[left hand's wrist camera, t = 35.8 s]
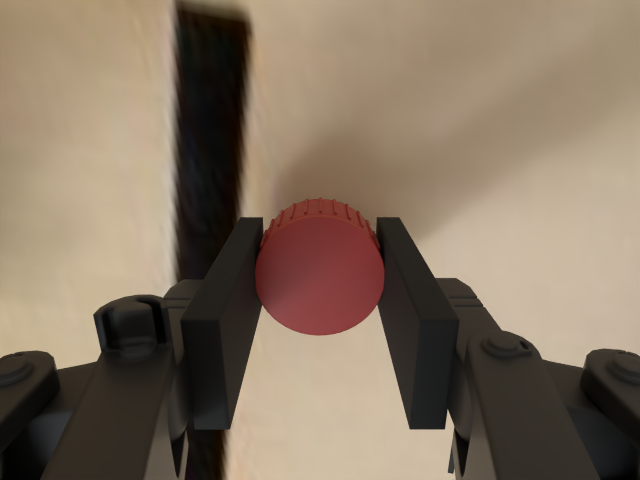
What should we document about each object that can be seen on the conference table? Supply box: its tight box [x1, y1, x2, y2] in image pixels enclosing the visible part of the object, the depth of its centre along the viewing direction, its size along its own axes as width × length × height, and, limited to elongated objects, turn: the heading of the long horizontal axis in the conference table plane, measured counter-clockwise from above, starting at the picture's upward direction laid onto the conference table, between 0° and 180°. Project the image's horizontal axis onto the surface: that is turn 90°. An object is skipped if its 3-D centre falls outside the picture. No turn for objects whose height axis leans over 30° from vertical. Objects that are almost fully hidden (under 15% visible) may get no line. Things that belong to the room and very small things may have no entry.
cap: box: [255, 198, 385, 335], centre depth 13 cm, size 4×4×2 cm
